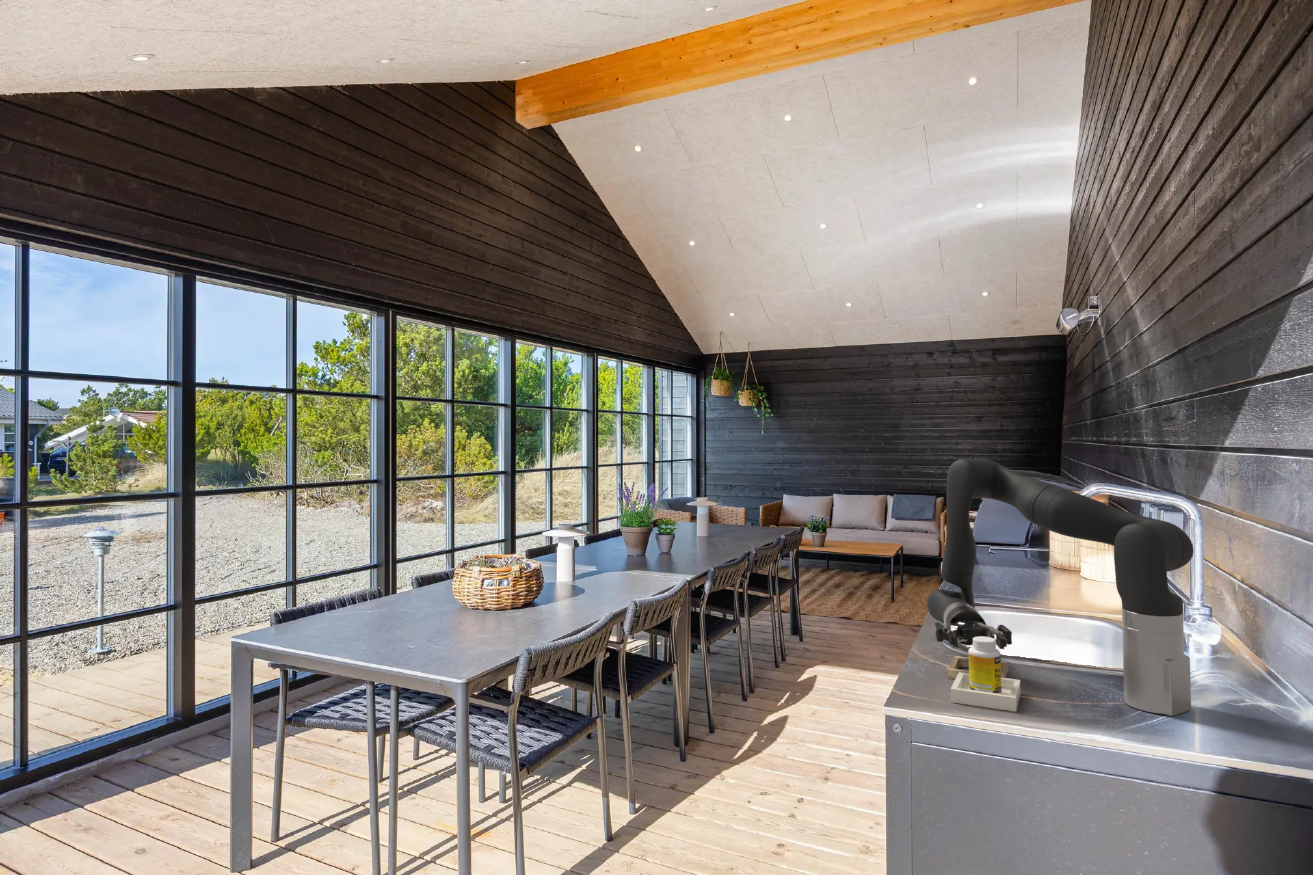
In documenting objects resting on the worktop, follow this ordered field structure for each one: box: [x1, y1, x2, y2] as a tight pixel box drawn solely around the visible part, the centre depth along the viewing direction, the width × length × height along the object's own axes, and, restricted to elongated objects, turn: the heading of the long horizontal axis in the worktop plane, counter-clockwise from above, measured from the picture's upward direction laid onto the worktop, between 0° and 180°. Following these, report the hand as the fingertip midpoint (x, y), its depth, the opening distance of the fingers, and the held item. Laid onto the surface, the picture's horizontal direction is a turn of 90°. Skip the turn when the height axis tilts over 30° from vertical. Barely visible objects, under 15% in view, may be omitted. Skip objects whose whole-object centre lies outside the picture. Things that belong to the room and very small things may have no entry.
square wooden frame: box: [947, 655, 1009, 680], centre depth 153 cm, size 10×10×2 cm
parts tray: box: [950, 672, 1022, 713], centre depth 140 cm, size 11×11×2 cm
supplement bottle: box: [968, 636, 1002, 694], centre depth 140 cm, size 6×6×10 cm
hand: (979, 643), depth 145 cm, fingers open, 8 cm apart
